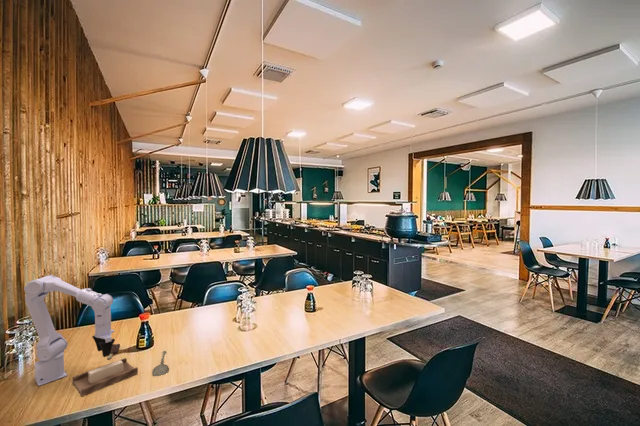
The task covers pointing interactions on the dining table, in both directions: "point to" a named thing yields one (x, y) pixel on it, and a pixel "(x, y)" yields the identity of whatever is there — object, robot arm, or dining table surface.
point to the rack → (86, 387)
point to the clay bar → (105, 371)
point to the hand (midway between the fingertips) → (103, 353)
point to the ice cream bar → (113, 350)
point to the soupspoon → (160, 368)
